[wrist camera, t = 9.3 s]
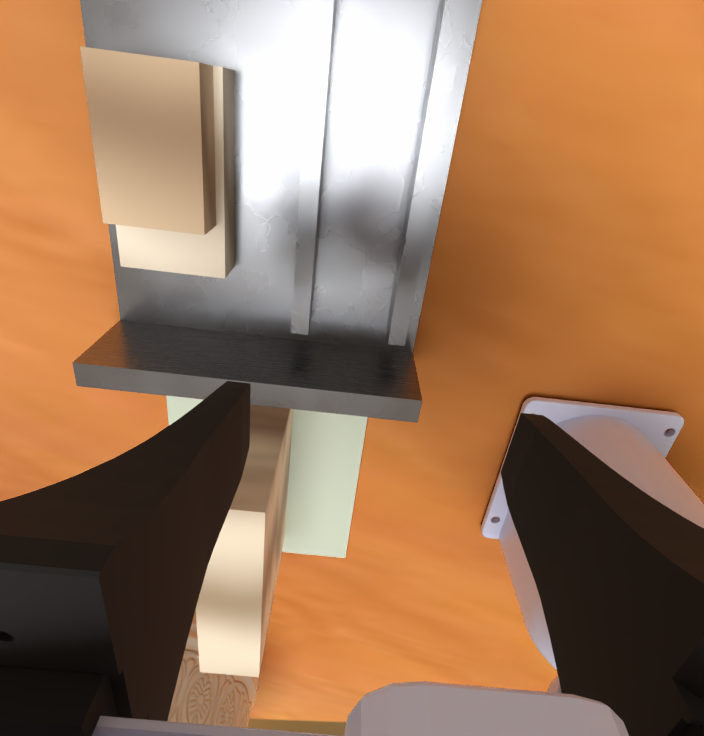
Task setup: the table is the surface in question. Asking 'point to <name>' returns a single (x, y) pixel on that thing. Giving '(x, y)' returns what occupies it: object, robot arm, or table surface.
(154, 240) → the offcut lower
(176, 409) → the mat
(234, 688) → the jar
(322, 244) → the rack
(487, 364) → the table surface
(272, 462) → the wooden block
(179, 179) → the offcut upper
